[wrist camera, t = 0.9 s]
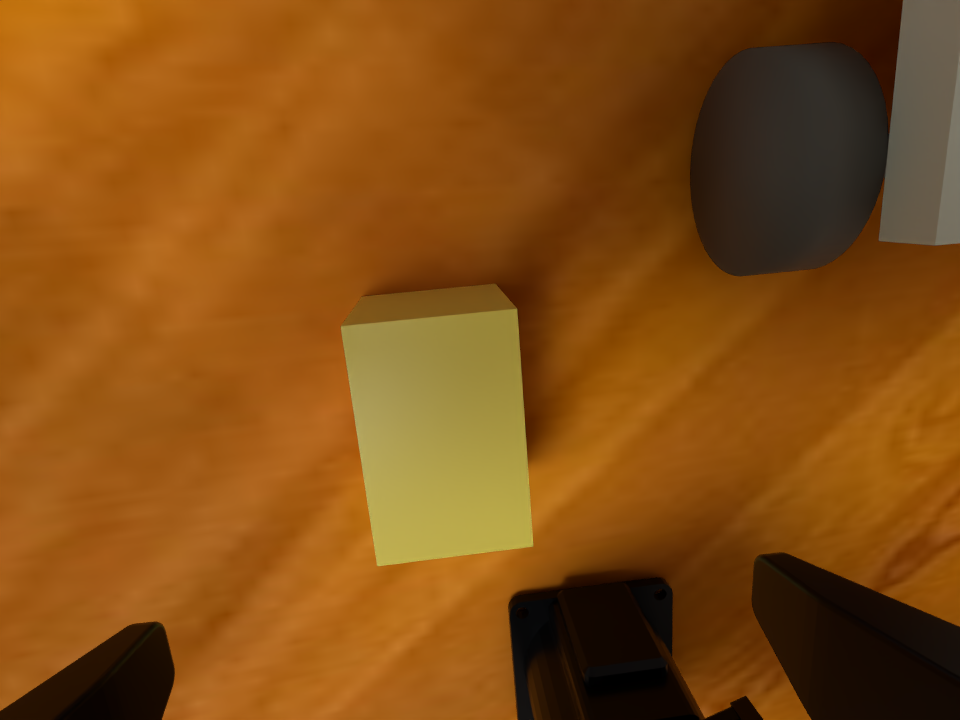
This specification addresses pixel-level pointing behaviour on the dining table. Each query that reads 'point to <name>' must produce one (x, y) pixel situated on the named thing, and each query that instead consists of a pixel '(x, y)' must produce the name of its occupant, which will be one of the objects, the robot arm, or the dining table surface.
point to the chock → (440, 422)
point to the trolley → (829, 148)
